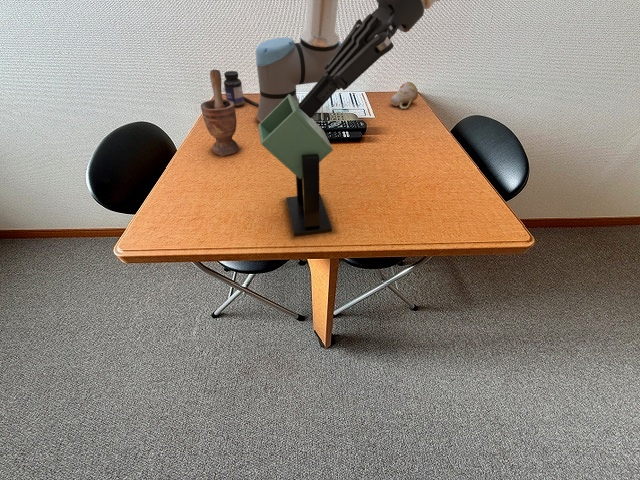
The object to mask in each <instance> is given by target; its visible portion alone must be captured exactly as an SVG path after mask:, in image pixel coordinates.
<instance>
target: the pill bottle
mask: <svg viewBox="0 0 640 480" xmlns="http://www.w3.org/2000/svg"><path fill="white" fill-rule="evenodd" d="M223 74H224V78H225V79H224V80H223V86H224V93H225V99H226V100H230V101H233V102H234V105H235V108H241V107H243V106H244V105H245V100H244V98H243V97H244V92H243V85H242V80H241V79H239V72H238V71H236V70H228V71H227V70H226V71H225V72H224V73H223Z"/></svg>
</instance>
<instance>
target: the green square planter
mask: <svg viewBox="0 0 640 480" xmlns="http://www.w3.org/2000/svg"><path fill="white" fill-rule="evenodd" d="M298 105H299V104H298V103H297V102H296V100H295V99H294V98H293V97H292V96H291V95H290V94H289V95H288V96H287V97H286V98H285V99H284V100H283V101H282V102H281V103H280V104H279V105H278V106H277V107H276V108H275V109H274V110H273V111H272V112H271V113H270V114H269V115H268V116H267V117H266V118H265V119H264V120H263V121H262V122H261V123H258V124H257V127H258V134H259V141H260V146H262V147H263V148H264V149H265V150H267V151H268V152H269V153H270V154H271V155H273V157H275V158H276V159H277V160H278V161H279V162H280V163H282V165H284V167H285V168H287V169H288V170H289V171H290V172H291V173H292V174H294V175H295V177H296V176H297V177H298V178H299V179H301V178H302V155H310V154H318V155H319V163H321V162H322V161H323V160H324V159H326V158H327V157H328V155H329V154H331V153H332V152H333V151H334V149H333V147H332V144H331V142H330V140H329V139H328V137H327V135H326V132H325V131H324V129H323V128H322V127H321V126H320V125H319V124H318V123H317V122H316V121H315V120H314V119H313V117H312V118H309V117H308V116H307V115H306V114H305V113H304V112H303V111H302V110H301V109H300V108H299V106H298Z"/></svg>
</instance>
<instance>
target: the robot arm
mask: <svg viewBox="0 0 640 480" xmlns="http://www.w3.org/2000/svg"><path fill="white" fill-rule="evenodd" d="M375 1H376V2H377V5H378V6H377V8H376V9H375V10H374V11H373V12H372V13H369V14H368V15H366V17H365V18H364V19H363V20H362V19H361V18H359V19H357V20H356V21H355V23H354V25H353V27H352V29H351V30H350V31H349V33H348V34H347V36H346V37H345V38H344V39H343V41H340V37H339V35H338V34H337V32H336V25H337V24H336V23H337V15H338V6H339V0H306V3H307V4H306V18H305V19H306V20H305V21H306V22H305V28H304V29H303V30H302V31H301V33H300V39H299V42H295V40H294V39H293V38H291V37H287V36H285V37H276V38H271V39H267V40H265V41H262V42H261V43H259V44H258V45H257V46H256V49H255V65H256V69H257V80H258V87H259V102H258V103H257V102H255V101H253V100H251V99H249V98H247V97H245V96H243V98H244V101H245V102H248V103H250V104H251V105H254V106H256V107H258V108H257V113H256V118H257V122H258V124H260V123H261V122H262V121H263V120H264V119H265V118H266V117H267V116H268V115H269V114H270V113H271V112H272V111H273V110H274V109H275V108H276V107H277V106H278V105H279V104H280V103H281V102H282V101H283V100H284V99H285V98H286V97H287V96H288V95H289V94H290V95H291V96H292V97H293V98H294V99H295V100H296V102H297V103H298V104H299V105H298V106H299V108H300V109H301V110H302V111H303V112H304V113H305V114H306V115H307V116H308V117H309V118H312V119H313V117H314V116H315V115H316V114H317V113H318V111H319V110H320V109H321V108H323V106H324V105H325V104H326V102H327V101H328V100H329V99H330V98H331V97H332V96H333V95H334V94H335V93H336V92H337V91H339V90H341V89H342V91H345V90H347V89H348V88H349V87H350V86H351V85H352V84H353V83H355V81H356V80H358V78H360V77H361V76H362V75H363V74H364V73H365V72H366V71H367V70H368V69H370V68H371V66H373V65H374V64H375V63H376V62H377V61H378V60H379V59H381V57H383V56H384V55H386V54H388V53H389V52H390V51H392V49H393V48H394V46H395V45H394V43H393V42H392V41H391V40H392V37H394V36H395V34H396V33H397V31H398V30H399V31H400V32H402V33H408V32H410V30H412V28H413V27H415V25H416V24H417V23H418V22H419V21H420V20H421V19H422V17H423V16H424V14H425V10H429V9H430V8H431V7H432V6H433V5H434V4H435V3H436V2H439V1H440V0H375ZM308 84H315V85H314V86H313V87H312V88H311V90H309V92H308V93H307V94H306V95H305V96H304V97H303V99H302V100H301V101H299V98H298V95H297V86H301V85H308Z"/></svg>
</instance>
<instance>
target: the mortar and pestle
mask: <svg viewBox="0 0 640 480" xmlns="http://www.w3.org/2000/svg"><path fill="white" fill-rule="evenodd" d="M209 77H210V78H209V79H210V85H211V89H212V92H213V98H214V99H210V100H206V101H204V102H202V103H201V104H200V109H201V112H202V117H203V121H204V125H205V127H206V129H207V131H208V133H209V135H210V136H211V137H213V138H214V139H215V142H214V143H213V145H212V152H213V153H214V154H215V155H218V156H220V157H225V156H229V155H232V154H233V155H234V154H236V153H238V151H239V150H240V147H239V145H238V143H237V142H236V141H235V139H233V137H234V135H235V133H236V132H237V131H236V130H237V115H236V107H235V105H234V102H233V101H230V100H227V99H226V98H223V95H222V73H221V71H220V70H218V69H211V70H210V71H209Z"/></svg>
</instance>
